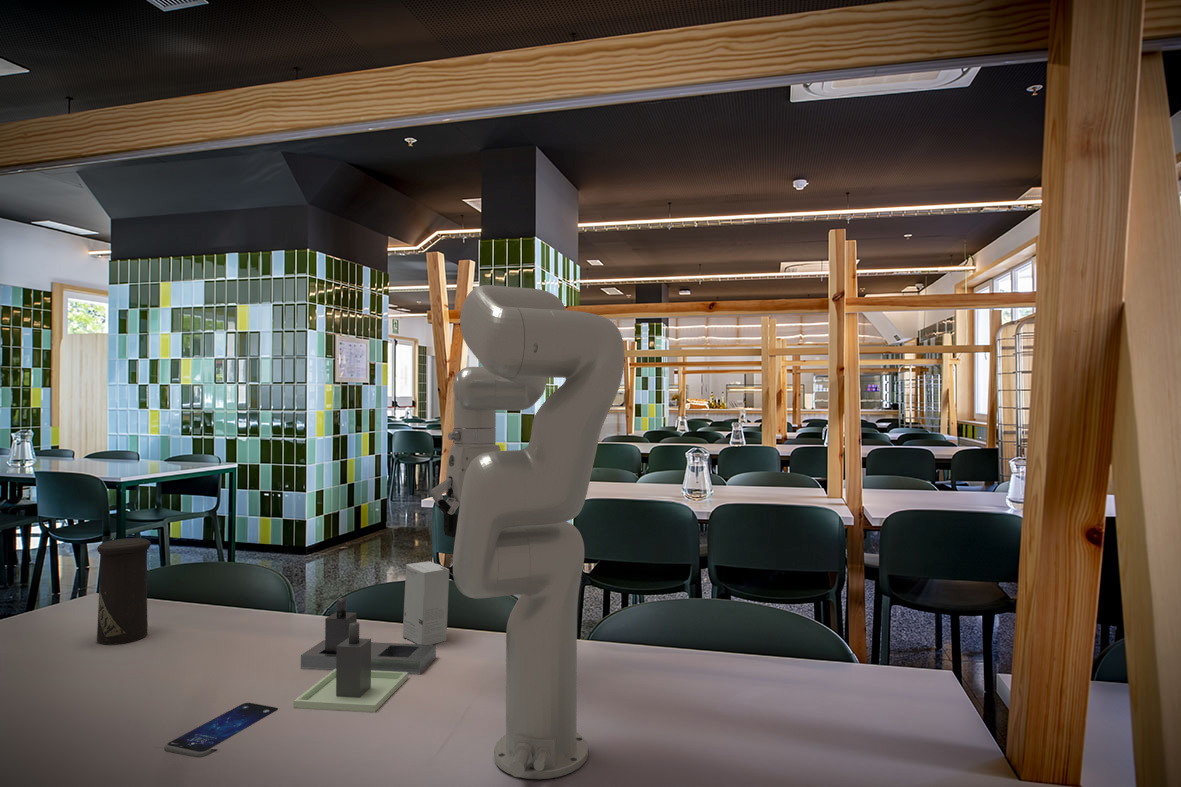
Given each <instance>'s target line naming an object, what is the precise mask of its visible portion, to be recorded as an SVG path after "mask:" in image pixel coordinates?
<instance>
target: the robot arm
mask: <svg viewBox="0 0 1181 787" xmlns="http://www.w3.org/2000/svg"><path fill="white" fill-rule="evenodd" d="M459 324H460V326H459V327H460V331H461V335H462V339H463V340H464V343H465V344H466V346H467V347H468V348H469V350H470V351H471V353H472V354H473V356H475V357H476V359H477V360H478V361H479V363H480V364H481V366H467V367H463V368H461V369H460V370H459V371H458V372H456V373H455V375H454V378H453V386H452V388H453V391H452V392H453V429H452V431H451V432H448V434H447V439H448V440H450V441H452V442H453V443H452V444H453V445H452V446H450V448H449V453H448V459H447V465H446V474H445V475H446V477H445V479H444V480H443V481H442V482H440V483H439V484H437V485H436V486H435V487H433V488H431V490H430V492H429V493H430V495H431V497H432V499H433V501H434V505H435V506H436V507H437V508H438V509H439V510H440V512H441V513H442V514H443V532H444V535H445V536H446V537H450V538H454V545H453V554H452V576H453V580H454V584H455V586H456V588H457V589H458V591H459V592H460V593H461V594H462V595H463V596H465V597H467V598H471V599H488V598H489V599H490V598H497V597H506V596H515V595H516V596H517V595H520V596H519V598H518V599H517V600H516V603H515V605H514V606H513V607H512V610H511V611H510V614H509V617H508V619H507V624H506V632H505V633H506V634H505V637H506V638H505V643H506V644H505V667H506V668H505V735H503V736H502V737H500V739H499V740H498V741H496V744H495V746H494V749H493V759H494V762H495V765H496V766H497V767H498V768H499V769H500V770H502V771H503V772H505V773H507V774H509V775H511V776H512V777H515V778H521V779H527V780H528V779H529V780H547V779H553V778H554V779H555V778H559V777H563V776H566V775H568V774H571V773H573V772H574V771H576V770H578V769H580V768H581V767H582V766H583V765H584V764H585V762H586V761H587V760H588V756H589V745H588V742H587V740H586V739H585V737H583V736H582V735H581V734H580V733H578V732H577V730H578V729H577V726H578V725H577V721H578V720H577V710H578V707H577V702H578V701H577V699H578V698H577V694H578V693H577V692H578V691H577V684H578V683H577V680H578V679H577V678H578V677H577V676H578V675H577V673H578V672H577V668H578V667H577V659H578V657H577V656H578V652H577V650H578V648H577V646H578V645H577V644H578V643H577V642H578V605H579V603H578V602H579V595H580V594H579V593H580V586H581V579H582V574H583V569H584V564H585V562H584V561H585V543H584V540H583V537H582V534H581V532H580V531H579V529H578V528H577V527H576V526H575V525H574V524H572V523H570V522H568V521H571V520H573V519H575V518H576V517H577V516H578V515H579V514H580V513H581V512H582V510H583V507H584V504H585V502H586V499H587V494H588V491H589V486H590V481H591V476H592V472H593V469H594V468H593V467H594V463H595V458H596V454H597V449H598V445H599V439H600V435H601V432H602V428H603V426H604V423H605V421H606V419H607V416H608V414H609V413H610V410H611V408H612V406H613V403H615V399H616V397H617V394H618V391H619V388H621V387H620V386H621V383H622V379H623V374H624V368H625V345H624V340H623V336H622V333H621V331H620V330H619V328H618V326H617V325H616V324H615V323H614V322H613V321H612V320H610V319H608V318H607V317H604V316H602V315H599V314H595V313H593V312H592V313H591V312H586V311H579V310H568V309H566V306H565V305H564V303H563V301H562V300H561V299H560V298H559V297H558V296H556V295H555V294H554V293H552V292H549V291H547V290H543V289H539V288H532V287H531V288H530V287H519V286H518V287H516V286H503V285H493V284H485V285H479V286H477V287H475V288H473V289H472V290H471V291H470V292H469V293H468V295H466V297H465V299H464V302H463V303H462V307H461V310H460V318H459ZM548 378H550V379H551V378H564V379H565V380H564V382H563V384H561V385H560V386H559V387H558V388H556V389H555V390H554V391H553V392H552V393H550V395H549V396H548V397H547V398H546V399H545V401H544V402H543V403H542V404H541V405H540V407H539V408H538V409H537V411H536V413H535V415H534V417H533V420H532V426H531V432H530V437H529V438H530V439H529V443H528V444H527V445H526V447H525V448H524V449H519V450H518V449H517V450H501V447H500V445H499V444H496V442H497V441H496V439H497V437H496V436H497V433H496V430H497V429H496V428H497V427H496V426H497V425H496V423H497V422H496V419H497V416H496V412H497V411H524V410H528V409H530V408H531V407H533V406H534V405H535V404H537V402H538V401H539V400H540V399H541V398H542V397H543V395H544V393H545V390H546V387H547V383H548ZM444 493H445V496H446V498H447V499H446V500H445V499H444V497H443V494H444ZM457 509H458V514H457V513H456V511H457Z"/></svg>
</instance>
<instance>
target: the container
mask: <svg viewBox="0 0 1181 787" xmlns="http://www.w3.org/2000/svg"><path fill="white" fill-rule="evenodd" d="M151 546H152V542H151V541H150V540H148V539H147V538H142V537H141V538H140V537H134V538H133V537H132V538H118V539H111V540H106V541H104V542H102V543H100V544H99V545H98V546H97V549H96V550H97V552H98V553H99V555H100V557H99V558H100V562H99V563H100V564H99V582H98V584H99V586H98V606H97V608H98V610H97V628H96V630H97V632H96V641H97V643H98V644H102V645H120V644H126V643H131V642H135V641H138V640H141V639H143V638H145V637H146V636H147V635H148V550H149V549H150V547H151Z"/></svg>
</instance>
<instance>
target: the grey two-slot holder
mask: <svg viewBox="0 0 1181 787" xmlns="http://www.w3.org/2000/svg"><path fill="white" fill-rule="evenodd" d="M357 618H358V616H357V612H347V598H346V597H339V598H337V599H336V611H335V612H334V613H332V614H330V615H329V616H327V617H326V618H325V620H324V621H325V622H324V623H325V624H324V626H325V628H324V629H325V631H324V635H325V636H324V639H323V640H322V641H320V642H319V643H317V644H316V645H314V646H313V647H310V648H309V649H308V650H307V651H305V652H304V653H302V654H301V655H300V669H303V670H323V671H333V670H334V669H336V649H337V646H338V645H339V644H340V643H342V642H343V641H345V640H346V639H347V638H349V624H350V623H354V622H357V623H358V619H357ZM436 658H437V644H431V645H423V644H416V643H400V642H399V643H397V642H396V643H395V642H394V643H393V642H376V641H375V642H374V641H373V642H372V641H371V670H373V671H394V672H408V675H421V674H422V673H423V672H424V671H425V670H426V669H427V668H428V667H429V665H431V663H433V661H434V660H435V659H436Z"/></svg>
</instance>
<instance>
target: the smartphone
mask: <svg viewBox="0 0 1181 787" xmlns="http://www.w3.org/2000/svg"><path fill="white" fill-rule="evenodd" d="M278 710H279V708H278V707H276V706H271V705H270V706H269V705H264V704H260V703H254V702H244V703H241V704H239V705H237V706H235V707H233V708H232V709H230V710H228V711H226V712H224V713H222V714H220V715H219V716H216V717H214V718H212V719H210V720H209V721H207V722H205V723H202V724H201V725H199V726H197V727H195V728H194V729H192V730H189V731H188V732H186V733H184V734H182V735H180V736H178V737H176V738H175V739H172V740H171V741H169V742H167V743H165V746H164V751H165V752H168V753H175V754H178V755H184V756H188V757H192V758H193V757H194V758H203V757H207V756H209V755H211V754H212V753H215V752H216V751H218V750H219V749H218V748H215V747H217V746H218V745H220V744H221V743H223V742H225V741H227V740H228V739H230V738H231V737H234V736H235V735H237V734H239V733H240V732H242V731H244V730H247V728H249V727H251V726H252V725H254V724H256V723H258V722H259V721H261V720H263V719H265V718H266V717H268V716H270V715H272V714H274V713H275V712H277V711H278Z"/></svg>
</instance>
